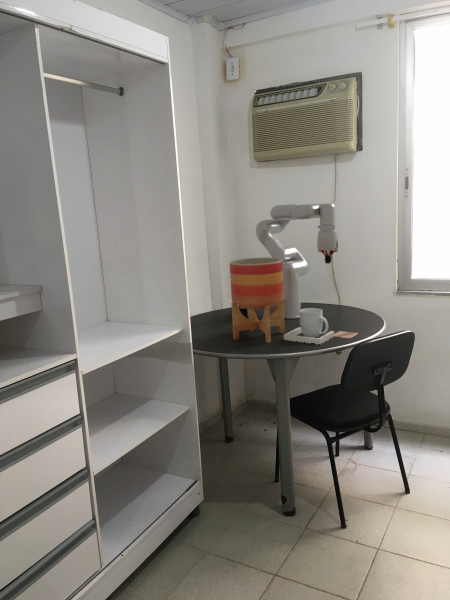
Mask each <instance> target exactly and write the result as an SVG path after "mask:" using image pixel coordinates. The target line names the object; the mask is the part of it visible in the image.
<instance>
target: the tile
mask: <svg viewBox="0 0 450 600" xmlns="http://www.w3.org/2000/svg"><path fill="white" fill-rule="evenodd" d="M358 334H360V333H359V332H351V331H342V330H339V331H337V332H334V337H333V338H335V337H336V338H342V339H352V338H354V337H355V336H357V335H358Z"/></svg>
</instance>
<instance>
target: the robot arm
mask: <svg viewBox="0 0 450 600" xmlns="http://www.w3.org/2000/svg"><path fill="white" fill-rule="evenodd" d="M335 207H336V206H335V204H334V203H332V202H331V203H309V204H308V203H305V204H297V203H296V204H295V203H292V204H291V203H290V204H277V205H275V206H273V207H272V208H271V209H270V213H269V214H270V217H271V218H272V219H271V218H270V219H263V220H261V221H259V222H258V223H257V225H256V227H255V235H256V238H257V240H258V241H259V243H260V244H261V245H262V246H263V247H264V249H265V250H266V251H267V253H268V254H269V255H270V257H271V258H280V259H282V260H283V279H284V319H300V312H299V311H300V310H301V308H302V307H301V305H302V304H301V285H300V281H299V279H298V278H299V277H304V276H306V275H307V274H308V272H309V269H310V267H309V264H308V262H307V261H306V259H305V258H304V257H303V255H302V254H301V252H299V250H298V249H297V248H296V247H294V246H292V245H285V246H283V244H281V242H280V240H278V239H277V237H275V236H274V235H275V234H280V233H282V232H283V231H284V230H285V228H286V227H287V226H288V224H289V223H290V222H291V221H296V220H311V219H319V225H318V226H317V228H318V229H319V230H318V234H317V238H316V239H317V242H316V248H317V250H318V251H317V252H319V253H321V254H323V256H324V262H325V264H331V263H332V256H333V254H334V253H338V252H339V249H338V248H339V237H338V232H337V230H336V214H335V212H336V211H335V209H336V208H335Z"/></svg>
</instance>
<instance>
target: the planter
mask: <svg viewBox="0 0 450 600" xmlns="http://www.w3.org/2000/svg"><path fill="white" fill-rule="evenodd" d="M283 264H284V263H283V260H282V259H280V258H272V257H267V256H265V257H249V258H239V259H235V260H231V261H230V262H229V275H230V276H229V277H230V296H231V314H232V315H231V316H232V335H233V338H232V339H233V340H236V341H237V340H240V331H247V330H249V331H250V332H253V331H254V330H256V329H259V330H260V331H261V332H263V333H265V342H266V343H268V344H269V343H272V335H271V334H272V333H271V331H272V330H271V327H277V326H278V332H279V333H280V334H286V324H285V322H286V321H285V318H284V279H283ZM238 305H239V306H238ZM239 307H242V308H247V309H248V315H249V317H248V319H247V318H246V317H244V316H243V315H242V313H241V312H240V310H239ZM273 307H275V308H274V309H273V311H272V312H270V311H271V309H270V308H273ZM259 309H263V314H262V315H263V316H262V318H261V320H260V319H259V318H258V316H257V313H256V311H255V310H259Z"/></svg>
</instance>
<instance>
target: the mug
mask: <svg viewBox="0 0 450 600" xmlns="http://www.w3.org/2000/svg"><path fill="white" fill-rule="evenodd" d="M299 312H300V318H299V327H301V330H302V333H301V334H302V336H305V337H313V338H316V337H317V338H319V336H320V335H325V334H327V333H328V332H329V323H328V320H327V319H326V318H325V317H324V315H323V313H324V312H323V309H322V308H315V307H308V308H302V309H301V310H300V311H299ZM323 323H324V325H325V329H324V330H322V329H323Z"/></svg>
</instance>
